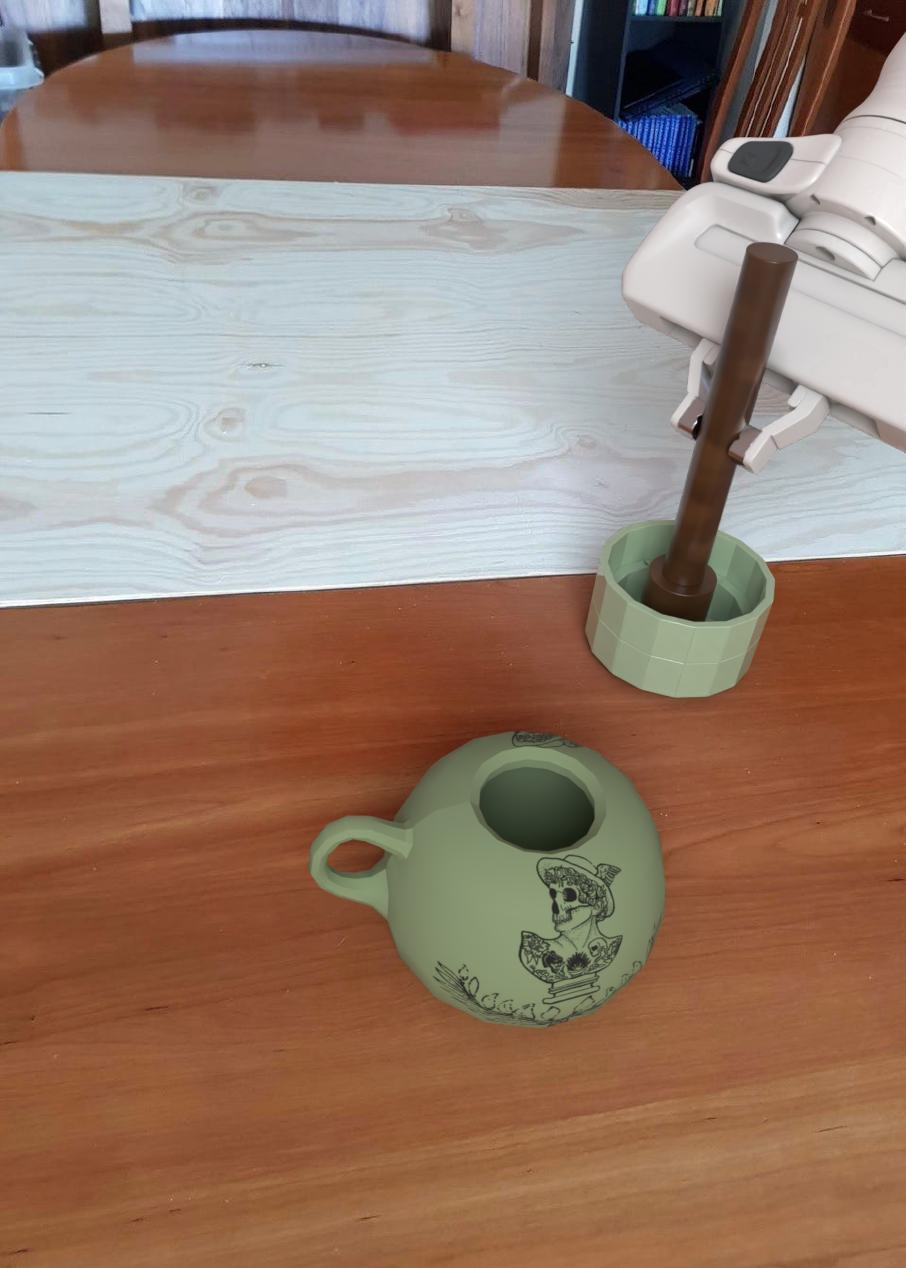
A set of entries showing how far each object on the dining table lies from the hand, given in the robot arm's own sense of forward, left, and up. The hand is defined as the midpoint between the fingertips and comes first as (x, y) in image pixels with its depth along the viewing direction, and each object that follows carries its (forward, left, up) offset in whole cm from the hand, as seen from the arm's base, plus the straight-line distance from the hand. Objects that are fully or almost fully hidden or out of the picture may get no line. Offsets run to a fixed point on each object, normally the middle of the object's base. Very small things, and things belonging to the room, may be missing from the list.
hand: (711, 448), depth 55 cm
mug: (+13, +18, -14) cm, 27 cm away
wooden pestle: (-1, 0, -14) cm, 14 cm away
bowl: (-1, 0, -14) cm, 14 cm away
